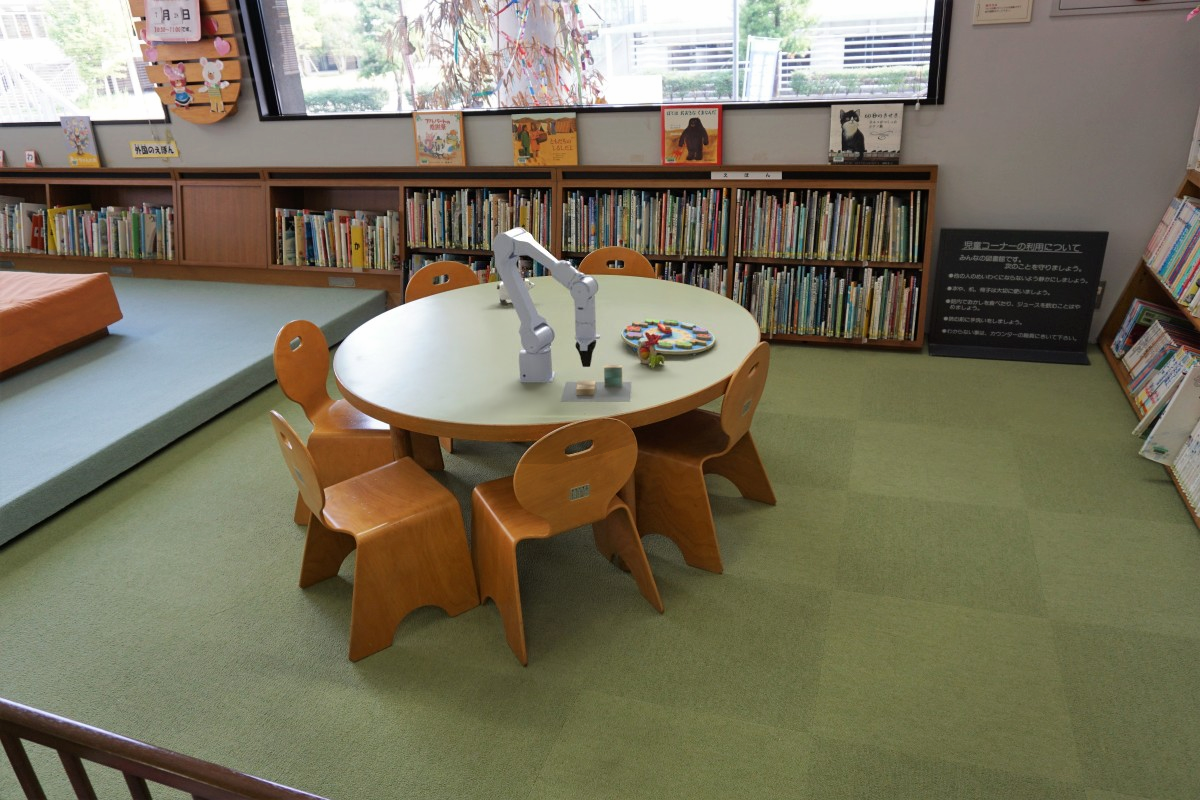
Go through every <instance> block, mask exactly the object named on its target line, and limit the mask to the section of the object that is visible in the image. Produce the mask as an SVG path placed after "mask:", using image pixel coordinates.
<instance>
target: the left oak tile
mask: <svg viewBox="0 0 1200 800" xmlns="http://www.w3.org/2000/svg"><path fill="white" fill-rule="evenodd" d="M577 382H578V384H577V388H576V395H594V394H595V389H596V382H597V381H596V380H578V381H577Z"/></svg>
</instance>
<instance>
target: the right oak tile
mask: <svg viewBox="0 0 1200 800" xmlns="http://www.w3.org/2000/svg"><path fill="white" fill-rule="evenodd" d="M603 374H604V376H603V379H604V381H603V382H605V387H622V382H623V365H622V364H619V365H618V364H615V365H614V364H611V365H610V364H608V365H607V364H605V365H604V366H603Z"/></svg>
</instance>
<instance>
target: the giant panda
mask: <svg viewBox="0 0 1200 800" xmlns="http://www.w3.org/2000/svg"><path fill="white" fill-rule="evenodd" d="M522 279H523V281H524V284H525V286H526V288H527V290H528V292H529V291H530V290H531V289H533V288H534V287H535V286H536V284H535V283H533V282H530V280H529V279H528V278H525V277H522ZM496 290H498V296H499V301H500V305H501V306H508V305H509V303H508V301H507V300H511V299H510V297H509V295H508V292H507V290H506V288H505V286H504V284H503V281H500V282H499V284H498V285H496Z"/></svg>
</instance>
